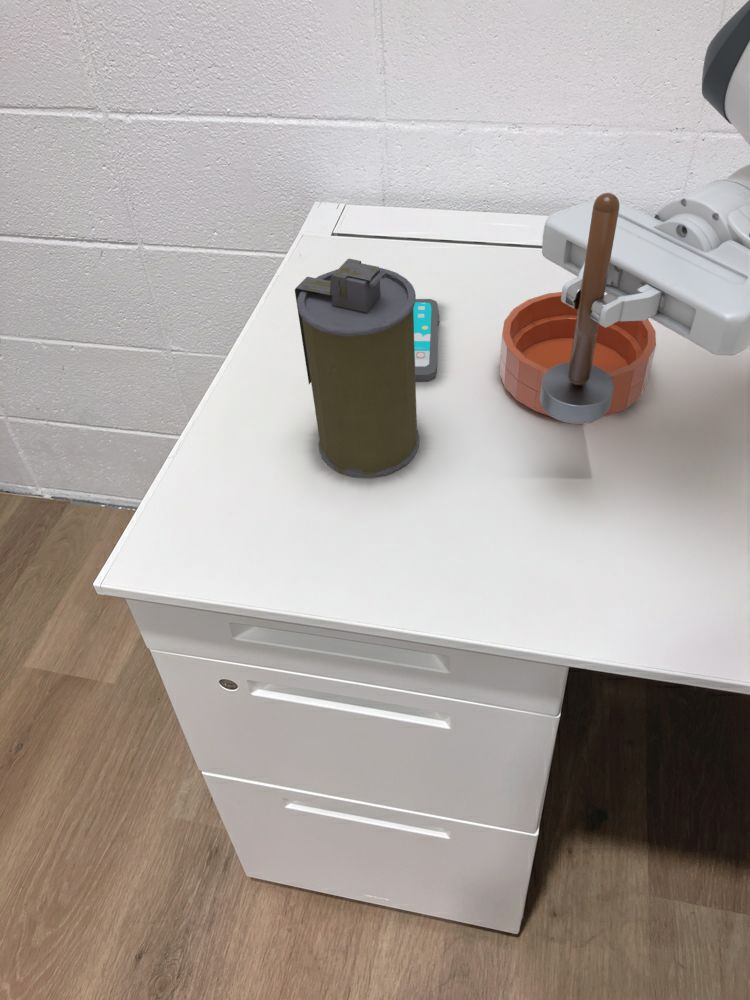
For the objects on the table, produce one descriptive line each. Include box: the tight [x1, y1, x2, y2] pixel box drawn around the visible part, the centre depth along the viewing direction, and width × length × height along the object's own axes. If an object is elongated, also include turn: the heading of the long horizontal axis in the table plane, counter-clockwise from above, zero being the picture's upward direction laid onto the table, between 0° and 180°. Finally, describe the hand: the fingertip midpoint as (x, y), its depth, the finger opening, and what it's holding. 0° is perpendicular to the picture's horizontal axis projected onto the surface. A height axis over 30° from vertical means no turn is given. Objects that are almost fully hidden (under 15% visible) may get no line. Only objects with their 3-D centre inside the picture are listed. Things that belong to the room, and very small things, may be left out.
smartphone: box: [413, 298, 440, 382], centre depth 94 cm, size 9×1×15 cm
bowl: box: [498, 291, 657, 418], centre depth 86 cm, size 16×16×6 cm
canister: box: [294, 258, 420, 479], centre depth 76 cm, size 11×10×20 cm
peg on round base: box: [540, 192, 620, 425], centre depth 63 cm, size 6×6×19 cm
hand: (582, 306), depth 62 cm, fingers closed on peg on round base
